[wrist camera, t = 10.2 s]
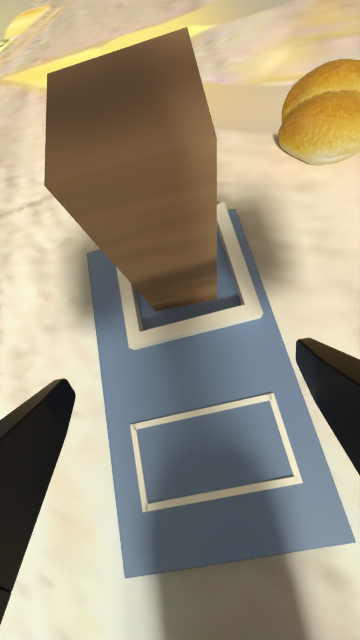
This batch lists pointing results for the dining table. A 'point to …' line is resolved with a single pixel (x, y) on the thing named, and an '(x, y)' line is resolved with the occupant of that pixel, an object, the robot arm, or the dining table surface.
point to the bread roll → (323, 114)
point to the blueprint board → (208, 423)
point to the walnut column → (140, 165)
